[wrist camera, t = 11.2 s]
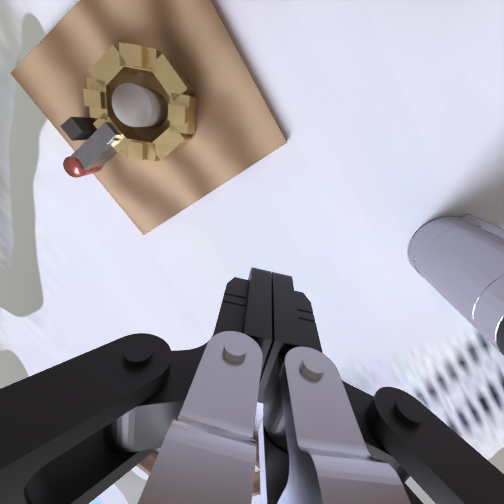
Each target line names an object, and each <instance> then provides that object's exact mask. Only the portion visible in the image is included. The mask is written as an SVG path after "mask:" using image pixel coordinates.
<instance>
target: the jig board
mask: <svg viewBox="0 0 504 504" xmlns="http://www.w3.org/2000/svg"><path fill="white" fill-rule="evenodd" d="M119 42H120V43H129V44H135V45H140V46H143V47H148V48H153V49H157V50H158V51H160V52H161V53H163V54H164V55H166V56H167V57H169V58H170V59H172V60H173V61H174V62H175V64H176V65H177V67H178V68H179V69H180V71H181V72H182V74H183V75H184V77H185V78H186V79H187V81H188V82H189V84H190V85H191V87H192V88H193V89H194V91H195V93H194V94H193V95H192V96H191V97H194V98H196V99H197V110H196V126H195V133H194V134H190V136H191V137H192V139H191V140H190V141H189V142H188V143H187V144H186V145H184V146H183V147H182V148H181V149H180V150H179V151H177V152H176V153H175V154H174V155H173V156H171V157H170V158H166V159H163V160H159V161H156V162H154V161H149V160H139V159H133V158H129V157H126V156H123V152H120V153H116V154H115V155H114V156H113V157H112V158H111V159H110V160H109V161H107V162H106V163H105V164H104V165H103V166H102V169H101V170H100V171H99V172H96V173H93V174H94V175H95V177H96V178H97V179H98V180H99V181H100V183H101V184H102V185H103V186H104V188H105V189H106V190H107V191H108V192H109V194H110V195H111V196H112V197H113V198H114V200H115V201H116V202H117V203H118V205H119V206H120V207H121V208H122V209H123V211H124V212H125V213H126V214H127V215H128V217H129V218H130V219H131V220H132V222H133V223H134V224H135V225H136V226H137V228H138V229H139V230H140V231H141V232H142V234H143V235H145V234H146V233H148V232H150V231H151V230H153V229H154V228H156V227H157V226H159V225H160V224H162V223H163V222H165V221H167V220H168V219H170V218H171V217H173V216H174V215H176V214H177V213H179V212H180V211H182V210H184V209H185V208H187V207H188V206H190V205H191V204H193V203H194V202H196V201H197V200H199V199H201V198H202V197H204V196H205V195H207V194H208V193H210V192H211V191H213V190H214V189H216V188H218V187H219V186H221V185H222V184H224V183H225V182H227V181H228V180H230V179H231V178H233V177H235V176H236V175H238V174H239V173H241V172H242V171H244V170H245V169H247V168H248V167H250V166H252V165H253V164H255V163H256V162H258V161H259V160H261V159H262V158H264V157H265V156H267V155H269V154H270V153H272V152H273V151H275V150H276V149H278V148H279V147H281V146H282V145H284V144H286V143H287V142H286V140H285V138H284V136H283V134H282V133H281V131H280V129H279V127H278V125H277V123H276V121H275V119H274V118H273V116H272V114H271V112H270V110H269V108H268V106H267V105H266V103H265V101H264V99H263V97H262V95H261V93H260V91H259V90H258V88H257V86H256V84H255V82H254V80H253V78H252V77H251V75H250V73H249V71H248V69H247V67H246V65H245V63H244V62H243V60H242V58H241V56H240V54H239V52H238V50H237V49H236V47H235V45H234V43H233V41H232V39H231V37H230V35H229V34H228V32H227V30H226V28H225V26H224V24H223V22H222V20H221V19H220V17H219V15H218V13H217V11H216V9H215V7H214V6H213V4H212V2H211V0H80V1H79V2H78V3H77V4H76V5H75V6H74V7H73V9H72V10H71V11H70V12H69V13H68V14H67V15H66V16H65V17H64V18H63V19H62V20H61V21H60V22H59V23H58V24H57V25H56V26H55V27H54V28H53V29H52V30H51V31H50V32H49V34H48V35H47V36H46V37H45V38H44V39H43V40H42V41H41V42H40V43H39V44H38V45H37V46H36V47H35V48H34V49H33V50H32V51H31V52H30V53H29V54H28V55H27V56H26V57H25V59H24V60H23V61H22V62H21V63H20V64H19V65H18V66H17V67H16V68H15V69H14V70H13V71H12V72H11V74H12V76H13V77H14V78H15V79H16V81H17V82H18V83H19V84H20V85H21V87H22V88H23V89H24V90H25V91H26V93H27V94H28V95H29V96H30V98H31V99H32V100H33V101H34V102H35V104H36V105H37V106H38V107H39V109H40V110H41V111H42V112H43V113H44V115H45V116H46V117H47V118H48V119H49V121H50V122H51V123H52V124H53V126H54V127H55V128H56V129H57V130H58V132H59V133H60V134H61V135H62V136H63V138H64V139H65V140H66V141H67V143H68V144H69V145H70V146H71V147H72V149H73V150H74V151H76V150H77V149H78V148H79V147H80V146H81V145H82V144H83V143H84V142H85V141H86V140H87V139H88V138H89V137H90V136H91V135H92V134H93V133H94V132H95V131H96V130H97V128H96V127H95V126H94V124H93V123H94V122H95V121H96V120H97V119H98V118H92V117H90V110H89V106H84V95H83V89H88V86H87V78H92V79H95V78H94V77H93V76H92V74H91V73H90V72H89V70H90V69H91V68H92V67H93V66H94V64H95V63H96V62H97V61H98V60H99V59H100V58H101V57H102V56H103V54H104V53H105V52H106V51H107V50H108V49H109V48H110V47H111V46H112V45H115V46H117V47H119ZM168 104H171V97H170V96H169V94H168V93H167V92H166V90H165V89H164V87H163V86H162V85H161V83H160V82H159V81H158V79H157V78H156V77H155V75H149V74H144V73H138V74H137V75H136V76H135V77H134V78H133V79H132V80H131V81H130V82H129V83H123V84H121V85H119V86H118V87H117V88H116V89H115V90H114V92H113V95H112V107H113V110H114V113H115V115H116V116H117V117H118V119H119V120H120V121H121V122H123V123H124V124H126V125H128V126H131V127H132V129H133V130H134V131H135V132H136V134H137V135H138V136H139V137H140V138H145V139H151V140H156V139H157V138H158V137H159V136H160V135H161V134H162V133H163V132H164V131H166V130H167V129H168V128H169V127H170V121H169V120H168Z"/></svg>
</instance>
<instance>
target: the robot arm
mask: <svg viewBox="0 0 504 504" xmlns="http://www.w3.org/2000/svg"><path fill="white" fill-rule="evenodd" d="M408 258H409V262H410V263H411V265H412V266H413V267H414V268H415V269H416V270H417V272H418V273H419V274H420V275H421V276H422V277H424V278H425V279H426V280H427V281H428V282H429V283H430V284H431V285H432V286H433V287H434V288H435V289H436V290H437V291H438V292H439V293H440V294H441V295H442V296H443V297H444V298H445V299H446V300H447V301H448V302H449V303H450V304H451V305H452V306H453V307H454V308H455V309H456V310H457V311H458V312H459V313H460V314H461V315H463V316H464V317H465V318H466V319H467V320H468V321H469V322H470V323H471V324H472V325H473V326H474V327H475V328H476V329H477V330H478V331H479V332H480V333H481V334H482V335H483V336H484V337H485V338H486V339H487V340H488V341H489V342H490V343H491V344H492V345H493V346H494V347H495V348H496V349H497V350H498V351H499V352H500V353H502V354H503V355H504V229H502V228H499V227H497V226H495V225H492V224H490V223H488V222H486V221H483V220H481V219H479V218H477V217H474V216H472V215H470V214H467V215H465V216H462V217H452V216H449V217H441V218H438V219H435V220H433V221H431V222H428V223H427V224H425V225H424V226H423V227H421V228H420V229H419V230H418V231H417V232H416V233H415V235H414V236H413V238H412V239H411V242H410V244H409V248H408ZM257 402H260V403H264V407H263V417H262V420H261V422H260V425H259V431H258V435H259V462H260V489H261V504H423V503H422V502H421V501H420V499H419V498H418V497H417V496H416V495H415V494H414V493H413V492H412V490H410V488H409V487H408V486H407V485H406V484H405V483H404V482H405V481H406V480H407V479H408V478H409V477H410V476H411V477H412V478H413V479H414V480H415V481H416V483H417V484H418V485H419V486H420V487H421V488H422V489H423V490H424V491H425V492H426V493H427V494H428V495H429V497H430V498H431V499H432V500H433V501H434V502H435V503H436V504H504V474H503V473H501V472H500V471H499V470H498V469H497V468H496V467H495V466H494V465H492V464H491V463H490V462H489V461H488V460H487V459H485V458H484V457H483V456H482V455H481V454H480V453H478V452H477V451H476V450H475V449H474V448H473V447H472V446H470V445H469V444H468V443H467V442H466V441H465V440H463V439H462V438H461V437H460V436H459V435H458V434H456V433H455V432H454V431H453V430H452V429H451V428H450V427H448V426H447V425H446V424H445V423H444V422H443V421H441V420H440V419H439V418H438V417H437V416H436V415H434V414H433V413H432V412H431V411H430V410H429V409H428V408H426V407H425V406H424V405H423V404H422V403H421V402H419V401H418V400H417V399H416V398H414V397H413V396H411V395H410V394H408V393H406V392H404V391H402V390H400V389H397V388H393V387H383V388H380V389H379V390H378V391H377V392H376V394H375V395H374V397H373V396H371V395H369V394H367V393H365V392H363V391H361V390H359V389H357V388H355V387H353V386H351V385H349V384H347V383H346V382H344V381H343V380H341V377H340V374H339V372H338V369H337V367H336V366H335V364H334V363H333V362H332V361H331V360H330V359H329V358H328V357H327V356H326V355H324V354H323V353H322V348H321V344H320V340H319V336H318V331H317V327H316V323H315V319H314V315H313V310H312V306H311V302H310V301H309V300H308V298H307V297H306V296H305V295H304V293H302V292H298V291H294V287H293V280H292V277H291V276H287V275H283V274H279V273H274V272H272V273H271V272H270V271H265V270H261V269H257V268H251V271H250V274H249V278H248V280H245V279H240V278H236V277H235V278H233V279H232V280H231V281H230V282H228V283H227V286H226V290H225V293H224V297H223V301H222V305H221V308H220V312H219V316H218V320H217V323H216V327H215V331H214V334H213V336H212V338H211V339H210V340H209V341H208V342H207V343H206V344H204V345H202V346H200V347H198V348H195V349H191V350H180V351H171V349H170V347H169V345H168V344H167V343H166V342H165V341H164V340H163V339H161V338H160V337H157V336H155V335H151V334H145V333H139V334H132V335H128V336H125V337H122V338H120V339H117V340H115V341H113V342H110V343H108V344H106V345H103V346H101V347H98V348H96V349H94V350H91V351H89V352H87V353H84V354H82V355H80V356H77V357H75V358H72V359H70V360H68V361H65V362H63V363H61V364H58V365H56V366H53V367H51V368H49V369H46V370H44V371H42V372H39V373H37V374H35V375H32V376H30V377H27V378H25V379H23V380H20V381H18V382H16V383H13V384H11V385H9V386H6V387H4V388H1V389H0V504H89V503H90V502H91V501H92V500H94V499H95V498H96V497H97V496H99V495H100V494H101V493H102V492H104V491H105V490H106V489H107V488H109V487H110V486H111V485H112V484H114V483H115V482H116V481H117V480H119V479H120V478H121V477H122V476H123V475H125V474H126V473H127V472H128V471H130V470H131V469H132V468H133V467H135V466H136V465H137V464H138V463H140V462H141V461H142V460H143V459H145V458H146V457H147V456H148V455H149V454H150V453H152V451H153V450H154V449H155V448H160V451H159V453H158V456H157V458H156V461H155V463H154V465H153V468H152V470H151V473H150V475H149V478H148V480H147V482H146V485H145V488H144V490H143V492H142V495H141V497H140V499H139V502H138V504H251V500H252V490H253V481H254V472H255V462H256V441H255V440H253V432H254V423H255V415H256V407H257Z"/></svg>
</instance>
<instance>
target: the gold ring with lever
mask: <svg viewBox="0 0 504 504" xmlns="http://www.w3.org/2000/svg"><path fill="white" fill-rule="evenodd" d="M89 72H90V73H91V74H92V76H93V77H94V78H95V79H92V78H87V86H88V89H83V95H84V106H89V110H90V117H92V118H98V119H97V120H96V121H95V122H94V123H93V124H94V126H95V127H96V128H97V130H96V131H95V132H94V133H93V134H92V135H91V136H90V137H89V138H88V139H87V140H86V141H85V142H84V143H83V144H82V145H81V146H80V147H79V148H78V149H77V150H76V151H75V152H74V153H73V154H72V155H71V156H69V157H67V158H65V160H64V162H63V166H64V169H65V171H66V172H67V173H68V174H69V175H70V176H72V177H81V176H85V175H88V174H92V173H96V172H99V171H100V170H101V169H102V166H103V165H104V164H105V163H106V162H107V161H109V160H110V159H111V158H112V157H113V156H114V155H115V154H116V153H120V152H123V156H126V157H129V158H133V159H139V160H149V161H154V162H156V161H159V160H163V159H166V158H170V157H171V156H173V155H174V154H175V153H176V152H177V151H179V150H180V149H181V148H182V147H183V146H184V145H186V144H187V143H188V142H189V141H190V140H191V139H192V137H191V136H190V134H194V133H195V126H196V110H197V99H196V98H194V97H191V96H192V95H193V94H194V93H195V91H194V89H193V88H192V87H191V85H190V84H189V82H188V81H187V79H186V78H185V77H184V75H183V74H182V72H181V71H180V69H179V68H178V67H177V65H176V64H175V62H174V61H173V60H172V59H170V58H169V57H167V56H166V55H164V54H163V53H161V52H160V51H158V50H157V49H153V48H148V47H143V46H140V45H135V44H129V43H120V42H119V47H117V46H115V45H112V46H111V47H110V48H109V49H108V50H107V51H106V52H105V53H104V54H103V56H102V57H101V58H100V59H99V60H98V61H97V62H96V63H95V64H94V66H93V67H92V68H91V69H90V70H89ZM138 73H144V74H149V75H155V77H156V78H157V79H158V81H159V82H160V83H161V85H162V86H163V87H164V89H165V90H166V92H167V93H168V94H169V96H170V97H171V104H168V120H169V121H170V127H169V128H168V129H167V130H166V131H164V132H163V133H162V134H161V135H160V136H159V137H158V138H157V139H156V140H151V139H145V138H140V137H139V136H138V135H137V134H136V132H135V131H134V130H133V129H132V127H131V126H128V125H126V124H124V123H123V122H121V121H120V120H119V119H118V117H117V116H116V115H115V113H114V110H113V107H112V95H113V92H114V90H115V89H116V88H117V87H118V86H119V85H121V84H123V83H129V82H130V81H131V80H132V79H133V78H134V77H135V76H136V75H137V74H138Z"/></svg>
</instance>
